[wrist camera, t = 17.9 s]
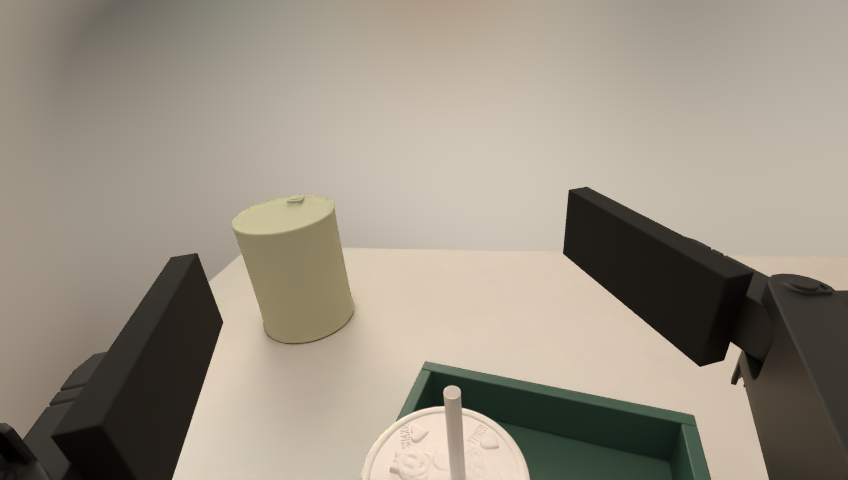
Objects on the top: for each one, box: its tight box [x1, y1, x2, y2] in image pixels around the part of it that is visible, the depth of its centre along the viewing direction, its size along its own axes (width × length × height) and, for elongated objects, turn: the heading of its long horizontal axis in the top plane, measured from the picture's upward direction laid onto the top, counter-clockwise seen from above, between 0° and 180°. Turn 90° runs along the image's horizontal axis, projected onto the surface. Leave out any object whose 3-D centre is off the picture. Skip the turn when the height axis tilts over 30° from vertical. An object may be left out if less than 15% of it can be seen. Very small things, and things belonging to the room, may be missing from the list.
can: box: [232, 195, 354, 343], centre depth 39 cm, size 9×9×12 cm
